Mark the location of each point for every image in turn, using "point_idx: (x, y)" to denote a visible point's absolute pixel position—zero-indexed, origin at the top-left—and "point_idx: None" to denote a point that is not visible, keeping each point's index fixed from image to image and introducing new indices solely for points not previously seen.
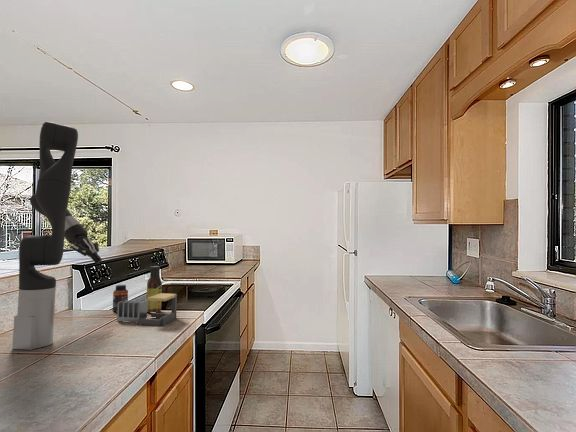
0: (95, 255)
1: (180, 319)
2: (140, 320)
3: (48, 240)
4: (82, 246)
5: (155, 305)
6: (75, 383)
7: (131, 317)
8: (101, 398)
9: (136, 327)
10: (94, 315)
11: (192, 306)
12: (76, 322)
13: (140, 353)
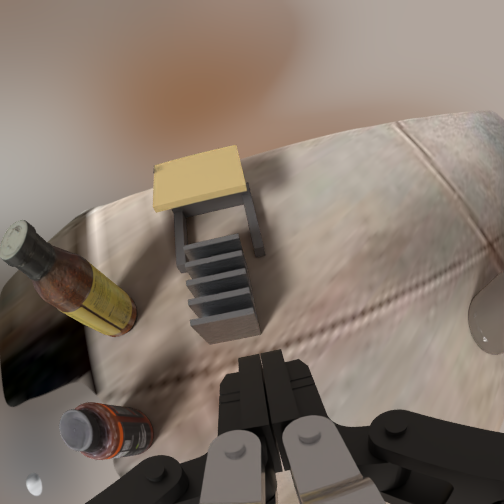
0: (294, 397)
1: None
2: (262, 242)
3: None
4: (502, 470)
5: (121, 289)
6: (486, 146)
7: (249, 282)
8: (475, 116)
9: (290, 238)
10: None
11: None
12: None
13: (400, 138)
